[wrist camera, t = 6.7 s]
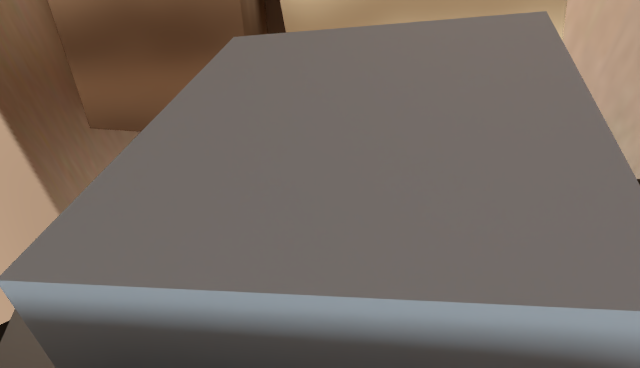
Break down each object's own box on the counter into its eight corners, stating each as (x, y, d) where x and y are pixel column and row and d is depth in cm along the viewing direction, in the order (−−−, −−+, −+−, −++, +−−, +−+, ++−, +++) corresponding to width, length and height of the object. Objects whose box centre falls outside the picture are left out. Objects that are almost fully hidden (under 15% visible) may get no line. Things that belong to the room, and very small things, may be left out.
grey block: (234, 36, 11) (-6, 279, 5) (546, 10, 9) (707, 314, 4) (286, 253, 14) (178, 546, 8) (521, 260, 12) (585, 620, 7)
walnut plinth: (63, -121, 26) (9, -113, 22) (254, -128, 24) (224, -120, 21) (125, 98, 32) (90, 128, 29) (276, 106, 31) (257, 139, 27)
